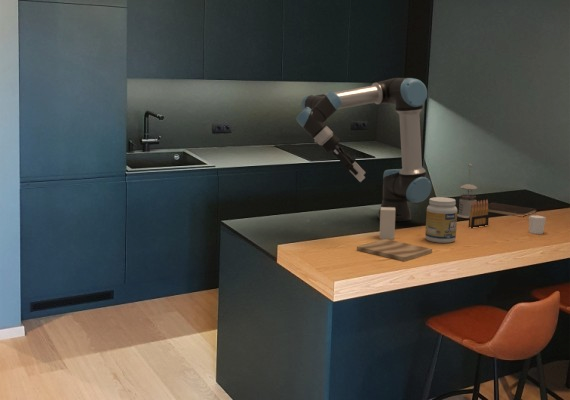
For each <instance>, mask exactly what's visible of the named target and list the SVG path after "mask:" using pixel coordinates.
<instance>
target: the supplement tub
mask: <svg viewBox="0 0 570 400" xmlns="http://www.w3.org/2000/svg"><path fill="white" fill-rule="evenodd" d="M428 202H429V204H428V205H427V207H426V218H425V219H426V220H425V234H424V235H425V237H424V238H425V239H426V240H427V241H429V242H433V243H437V244H438V243H439V244H448V243H453V242H455V241H456V239H457V238H456V237H457V225H458V223H457V222H458V221H457V220H458V216H457V214H458V208H457V206H456V205H457V203H456V199H455V198H452V197H451V198H450V197H442V196H441V197H437V196H436V197H431V198H429V201H428Z"/></svg>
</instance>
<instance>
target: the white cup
mask: <svg viewBox="0 0 570 400" xmlns="http://www.w3.org/2000/svg"><path fill="white" fill-rule="evenodd" d="M546 219H547V217H546V216H543V215H536V214H535V215H532V214H530V215H528V232H529V233H530V234H534V235H542V234H544V230H545V223H546Z"/></svg>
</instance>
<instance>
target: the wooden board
mask: <svg viewBox="0 0 570 400" xmlns="http://www.w3.org/2000/svg"><path fill="white" fill-rule="evenodd" d="M356 251H357V252H363V253H366V254H371V255H375V256H380V257H384V258H388V259H392V260H396V261H401V262H408V261H410V260H413V259H416V258H420V257H423V256H425V255H426V256H427V255H430V254H433V248H430V247H426V246H425V247H424V246H419V245H416V244H411V243H405V242H401V241H397V240H394V239H380V240H376V241H372V242H368V243H365V244H362V245H361V244H360V245H357V246H356Z"/></svg>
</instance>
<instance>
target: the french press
mask: <svg viewBox="0 0 570 400" xmlns="http://www.w3.org/2000/svg"><path fill="white" fill-rule="evenodd" d="M467 167H473V164H472V163H468V165H467ZM470 173H471V170H469V175H468V180H470V175H471V174H470ZM460 189H462V190H466V191H467V194H460V198H459V200H458V201H459V203H458V205H459V206H458V213H457V218H463V219H469V216H470V211H471V205H472V202H474V204H475V201H476V202H478V201H477V196H476V195H475V194H474V195H473V194H470V193H473V191H474V190H478V187H477V186H476V185H474V184H471V183H465V184H463V185H461V186H460Z"/></svg>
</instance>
